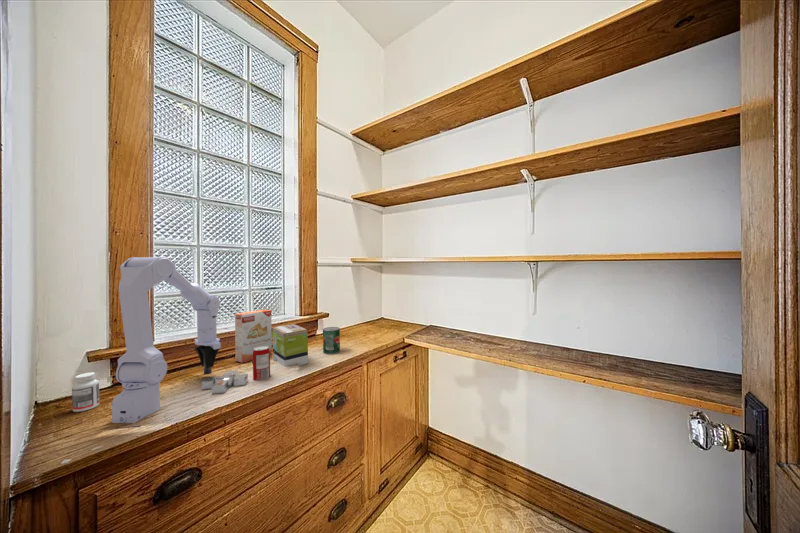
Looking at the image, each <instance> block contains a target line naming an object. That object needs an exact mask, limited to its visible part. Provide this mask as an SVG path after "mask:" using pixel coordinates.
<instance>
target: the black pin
mask: <svg viewBox="0 0 800 533" xmlns="http://www.w3.org/2000/svg"><path fill="white" fill-rule="evenodd" d="M203 358H204V356H203ZM212 371H213V367H209V368H206V366H205V360H204V367H203V375H210V374H213V372H212Z"/></svg>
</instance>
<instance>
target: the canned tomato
mask: <svg viewBox="0 0 800 533" xmlns="http://www.w3.org/2000/svg"><path fill="white" fill-rule="evenodd" d="M340 329H341V328H340V327H339V326H338V327H337V326H329V327H323V328H322V353H323V354H324V355H335V354H338V353H340V352H341V331H340Z"/></svg>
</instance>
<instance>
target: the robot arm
mask: <svg viewBox="0 0 800 533" xmlns="http://www.w3.org/2000/svg"><path fill="white" fill-rule="evenodd" d="M119 268H120V276H121V277H120V279H119V284H118V295H119V302H120V310H121V319H122V325H123V333H124V335H123V336H124V340H125V341H124V342H125V350H126V351H125V353H124V354H123V355H121V356H120V357H119V358H118V359H117V368H116V371H115V379H116V380H117V382H119V383H121V387H122V388H123V389H122V391H121V392H119V394H117V395H115V396H114V398H113V399H112V402H111V417H112V418H111V420H112V421H111V423H113V424H135V423H137V422H139V421H141V420H143V419H144V418H146V417H148V416H151V415H152V414H155V413H157V412H158V411H159V410H160V409H161V382H163V380H164V378H165V376H166V375H167V373H168V363H167V361H166V360H165V359H164V354H163V352H162V351H161V350H159V349H158V348H156V347H155V345H154V336H153V335H154V334H153V327H152V320H151V319H152V318H151V311H150V302H149V294H148V293H149V291H150V290H151V289H152V288H153V287H155V286H156V285H158V284H159V283H161V282H163V281H165V282H166V283H168V284H169V285H171V286H172V287H174V288H176V289H177V290H179V292H180V296H181V297H182V298H183V299H184V300H186V301H188V302H189V303H190V304H191V306H192V309H193V310H194V311H196V321H197V322H196V324H197V325H196V327H197V329H196V330H197V331H196V332H197V338H194V345H197V346H196V347H194V351H195V352H196V353H197V355H198V358H199V360H200V364H201V367H203V368H204V360H205V366H206V368H209V367H212V368H213V367H214V365H215V361H216V357H217V355H218V353H219V351H220V349H221V348H222V346H221V345H222V344H221V342H220V341H221V338H218V337H217V316H218V314H219V308H220V306H221V302H220V299H219V297H217V295H213V294H210V293H209V292H208V291H206V290H205V289H204V288H202V287H201V285H200V283H197V282H190V281H189V280H188V279H187V278H186V277H185V276H183V274H181V273H180V272H179V270H178V269H176V264H175V262H172V260H170V258H169V257H167V256H150V257H149V256H148V257H144V256H143V257H142V256H141V257H137V256H135V257H134V256H132V257H130V258H129V257H128V259H126V260H125V261H124V262H122V264H121V265H119ZM203 356H204V358H203ZM132 427H133V428H136V427H137V428H138V427H140V425H135V426H132Z"/></svg>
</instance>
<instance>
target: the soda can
mask: <svg viewBox="0 0 800 533" xmlns="http://www.w3.org/2000/svg"><path fill="white" fill-rule="evenodd" d="M270 377H271V355H270V350H269V347H268V346H260V347H256V348H254V350H253V360H252V379H253V380H254V381H262V380H266V379H269V378H270Z"/></svg>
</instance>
